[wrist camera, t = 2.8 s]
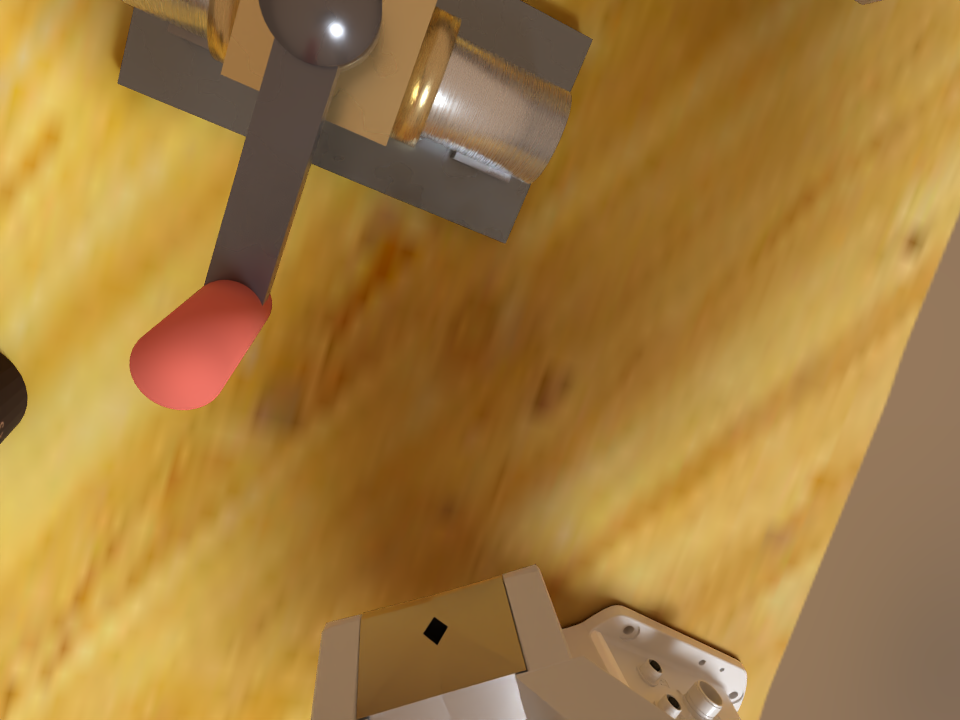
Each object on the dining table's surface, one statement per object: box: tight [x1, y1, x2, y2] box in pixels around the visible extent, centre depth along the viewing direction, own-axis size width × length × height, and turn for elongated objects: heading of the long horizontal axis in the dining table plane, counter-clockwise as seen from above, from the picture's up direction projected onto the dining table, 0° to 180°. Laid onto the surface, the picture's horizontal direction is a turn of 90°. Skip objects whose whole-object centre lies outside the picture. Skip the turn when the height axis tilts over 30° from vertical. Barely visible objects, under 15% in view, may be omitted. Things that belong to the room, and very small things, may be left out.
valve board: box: [118, 0, 593, 243], centre depth 25 cm, size 20×11×11 cm, turn 67°
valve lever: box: [130, 0, 382, 410], centre depth 17 cm, size 14×4×7 cm, turn 157°
